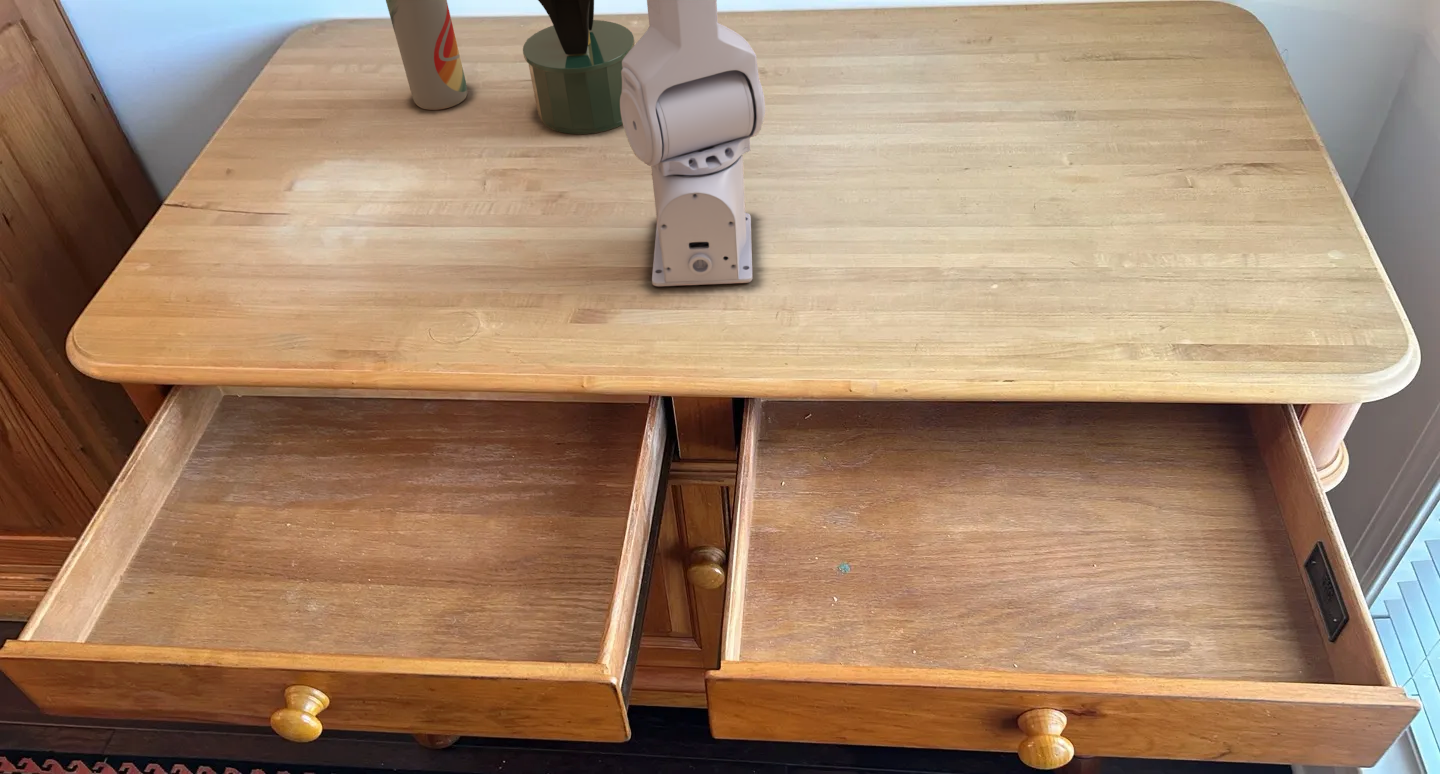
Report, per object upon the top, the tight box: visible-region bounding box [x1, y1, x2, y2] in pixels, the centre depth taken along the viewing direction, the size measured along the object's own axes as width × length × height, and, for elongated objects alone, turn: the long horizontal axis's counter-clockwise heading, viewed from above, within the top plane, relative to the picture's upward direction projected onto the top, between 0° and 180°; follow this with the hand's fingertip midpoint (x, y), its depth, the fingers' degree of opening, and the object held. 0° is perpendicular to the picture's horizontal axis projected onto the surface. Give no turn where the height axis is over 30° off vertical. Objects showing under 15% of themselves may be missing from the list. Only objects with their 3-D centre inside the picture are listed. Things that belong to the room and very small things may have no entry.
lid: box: [522, 19, 635, 73], centre depth 101 cm, size 11×11×5 cm
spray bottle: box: [385, 0, 468, 111], centre depth 103 cm, size 6×6×20 cm
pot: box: [528, 60, 623, 135], centre depth 104 cm, size 10×10×6 cm
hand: (579, 40), depth 102 cm, fingers open, 4 cm apart
